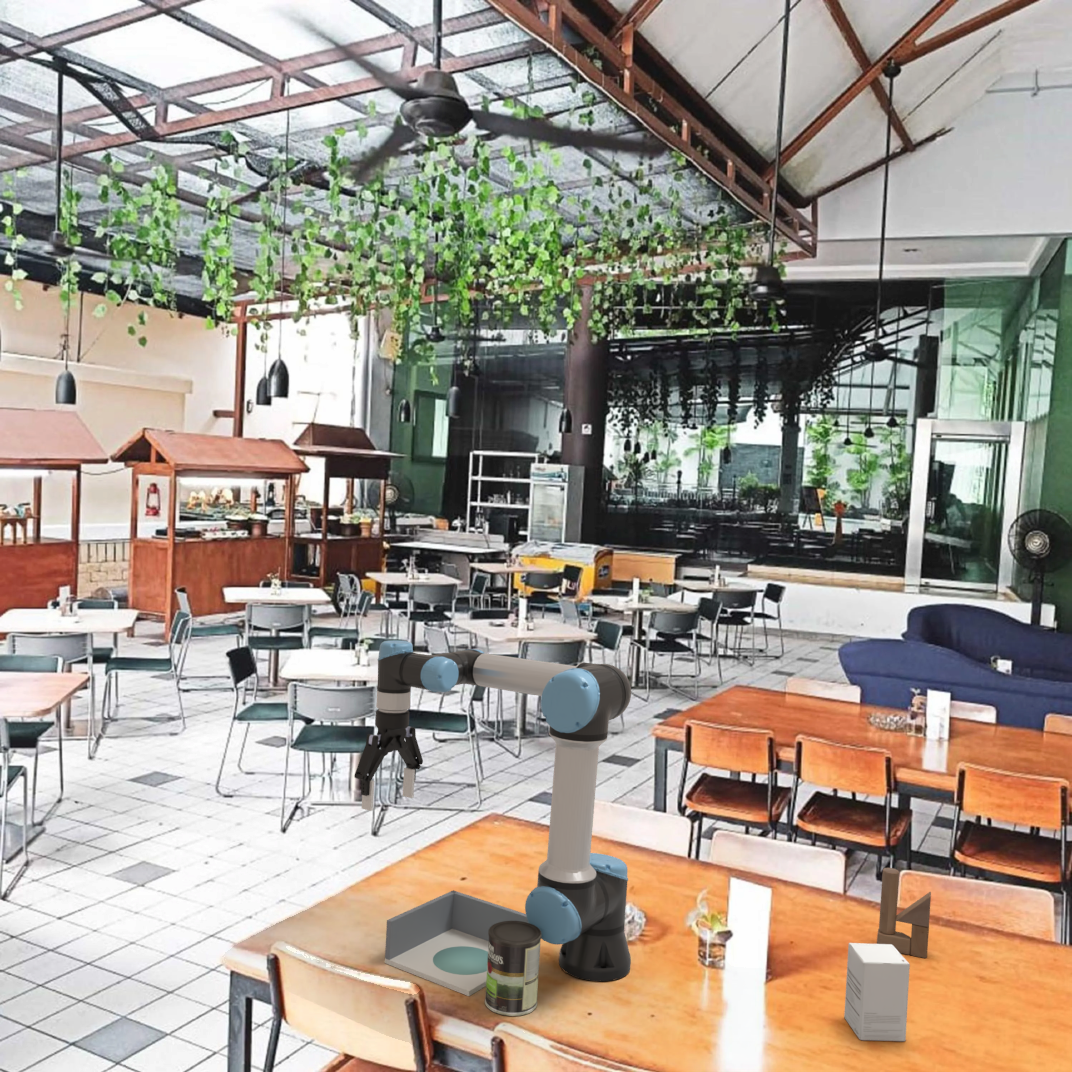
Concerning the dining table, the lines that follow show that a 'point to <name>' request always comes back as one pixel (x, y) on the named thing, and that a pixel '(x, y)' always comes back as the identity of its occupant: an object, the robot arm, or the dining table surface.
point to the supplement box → (877, 992)
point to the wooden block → (903, 918)
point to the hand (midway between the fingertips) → (388, 803)
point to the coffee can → (512, 968)
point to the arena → (446, 940)
